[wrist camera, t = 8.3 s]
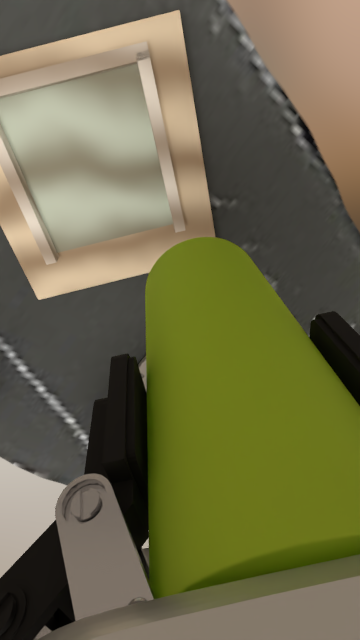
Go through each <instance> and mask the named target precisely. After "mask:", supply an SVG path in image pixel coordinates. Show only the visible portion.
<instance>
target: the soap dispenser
mask: <svg viewBox="0 0 360 640" xmlns="http://www.w3.org/2000/svg"><path fill="white" fill-rule="evenodd" d="M145 308H146V378H147V447H148V516H149V583H150V585H151V588H152V591H153V593H154V594H153V595H154V597H155V599H158V598H162V597H166V596H170V595H174V594H179V593H183V592H188V591H192V590H197V589H202V588H206V587H211V586H215V585H220V584H224V583H229V582H234V581H238V580H243V579H247V578H252V577H256V576H261V575H266V574H270V573H275V572H279V571H284V570H289V569H293V568H298V567H303V566H307V565H312V564H317V563H321V562H326V561H331V560H335V559H340V558H345V557H350V556H354V555H359V554H360V406H359V405H358V403H357V402H356V400H355V399H354V398H353V396H352V395H351V394H350V392H349V391H348V390H347V388H346V387H345V386H344V384H343V383H342V381H341V380H340V379H339V377H338V376H337V375H336V373H335V372H334V371H333V369H332V368H331V367H330V365H329V364H328V363H327V361H326V360H325V358H324V357H323V356H322V354H321V353H320V352H319V350H318V349H317V348H316V346H315V345H314V344H313V342H312V341H311V339H310V338H309V337H308V335H307V334H306V333H305V331H304V330H303V329H302V327H301V326H300V325H299V323H298V322H297V321H296V319H295V318H294V316H293V315H292V314H291V312H290V311H289V310H288V308H287V307H286V306H285V304H284V303H283V302H282V300H281V299H280V297H279V296H278V295H277V293H276V292H275V291H274V289H273V288H272V287H271V285H270V284H269V283H268V281H267V280H266V279H265V277H264V276H263V274H262V273H261V272H260V270H259V269H258V268H257V266H256V265H255V264H254V262H253V261H252V260H251V258H250V257H249V256H248V254H247V253H246V252H245V251H244V250H242V249H241V248H240V247H239V246H237V245H235V244H234V243H232V242H229V241H227V240H224V239H220V238H215V237H198V238H193V239H189V240H186V241H183V242H181V243H178V244H176V245H175V246H173V247H171V248H170V249H168V250H167V251H166V252H165V253H164V254H163V255H161V257H160V258H159V259H158V260H157V261H156V262H155V264H154V265H153V267H152V269H151V271H150V273H149V275H148V278H147V282H146V288H145Z"/></svg>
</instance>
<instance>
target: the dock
mask: <svg viewBox="0 0 360 640" xmlns="http://www.w3.org/2000/svg"><path fill="white" fill-rule="evenodd" d="M0 225H1V227H2V229H3V231H4V233H5V235H6V237H7V239H8V241H9V243H10V245H11V247H12V249H13V251H14V253H15V255H16V257H17V259H18V261H19V263H20V265H21V267H22V268H23V270H24V272H25V274H26V276H27V278H28V280H29V282H30V284H31V286H32V288H33V290H34V292H35V294H36V296H37V298H38V300H40V299H44V298H48V297H52V296H56V295H60V294H64V293H68V292H72V291H76V290H80V289H85V288H89V287H93V286H97V285H101V284H105V283H109V282H113V281H117V280H121V279H125V278H129V277H133V276H137V275H141V274H145V273H149V272H150V271H151V269H152V267H153V265H154V264H155V262H156V261H157V260H158V259H159V258H160V257H161V255H163V254H164V253H165V252H166V251H167V250H168V249H170V248H171V247H173V246H175V245H176V244H178V243H181V242H183V241H186V240H189V239H193V238H198V237H215V231H214V225H213V219H212V212H211V206H210V200H209V193H208V187H207V181H206V175H205V168H204V162H203V156H202V149H201V143H200V137H199V130H198V124H197V118H196V111H195V105H194V99H193V93H192V86H191V80H190V74H189V67H188V61H187V55H186V48H185V42H184V36H183V29H182V23H181V17H180V10H177V11H173V12H169V13H165V14H162V15H158V16H154V17H150V18H146V19H142V20H138V21H134V22H130V23H127V24H123V25H119V26H115V27H111V28H107V29H103V30H99V31H95V32H92V33H88V34H84V35H80V36H76V37H72V38H68V39H64V40H60V41H57V42H53V43H49V44H45V45H41V46H37V47H33V48H29V49H25V50H22V51H18V52H14V53H10V54H6V55H2V56H0Z"/></svg>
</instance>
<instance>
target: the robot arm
mask: <svg viewBox="0 0 360 640" xmlns="http://www.w3.org/2000/svg"><path fill="white" fill-rule="evenodd" d="M310 339H311V341H312V342H313V344H314V345H315V346H316V348H317V349H318V350H319V352H320V353H321V354H322V356H323V357H324V358H325V360H326V361H327V363H328V364H329V365H330V367H331V368H332V369H333V371H334V372H335V373H336V375H337V376H338V377H339V379H340V380H341V381H342V383H343V384H344V386H345V387H346V388H347V390H348V391H349V392H350V394H351V395H352V396H353V398H354V399H355V400H356V402H357V403H358V405H359V406H360V335H359V334H358V333H357V332H356V331H355V330H354V329H353V328H352V327H351V326H350V325H349V324H348V323H347V322H346V321H345V320H344V319H343V318H342V317H341V316H340V315H339V314H338V313H336V312H334V311H333V312H328V313H323V314H318V315H316V317H315V320H312V321H311V327H310ZM55 509H56V511H55V516H56V520H55V521H54V522H53V523H52V524H51V525H50V526H49V528H48V529H47V530H46V531H45V532H44V533H43V534H42V535H41V536H40V537H39V538H38V539H37V540H36V541H35V542H34V543H33V544H32V545H31V547H30V548H29V549H28V550H27V551H26V552H25V553H24V554H23V555H22V556H21V557H20V558H19V559H18V560H17V561H16V562H15V563H14V564H13V566H12V567H11V568H10V569H9V570H8V571H7V572H6V573H5V574H4V575H3V576H2V577H1V578H0V640H360V554H359V555H354V556H350V557H345V558H340V559H335V560H331V561H326V562H321V563H317V564H312V565H307V566H303V567H298V568H293V569H289V570H284V571H279V572H275V573H270V574H266V575H261V576H256V577H252V578H247V579H243V580H238V581H234V582H229V583H224V584H220V585H215V586H211V587H206V588H202V589H197V590H192V591H188V592H183V593H179V594H174V595H170V596H166V597H162V598H158V599H155V597H154V595H153V594H154V593H153V591H152V588H151V585H150V583H149V548H145V549H142V546H143V544H144V543H145V542H146V540H147V539H148V537H149V531H148V530H149V516H148V447H147V378H146V356H145V357H144V358H143V359H142V360H141V361H140V363H139V364H138V363H137V360H136V358H135V357H130V356H129V354H123V355H119V356H114V357H112V358H111V366H110V378H109V389H108V398H103V399H98V400H95V402H94V406H93V414H92V421H91V429H90V436H89V443H88V451H87V458H86V466H85V473H84V475H83V476H81V477H78V478H76V479H75V480H74V481H72V482H71V483H69V485H68V486H67V487H66V488H65V489H64V490H63V492H62V493H61V495H60V497H59V498H58V501H57V505H56V508H55Z"/></svg>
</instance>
